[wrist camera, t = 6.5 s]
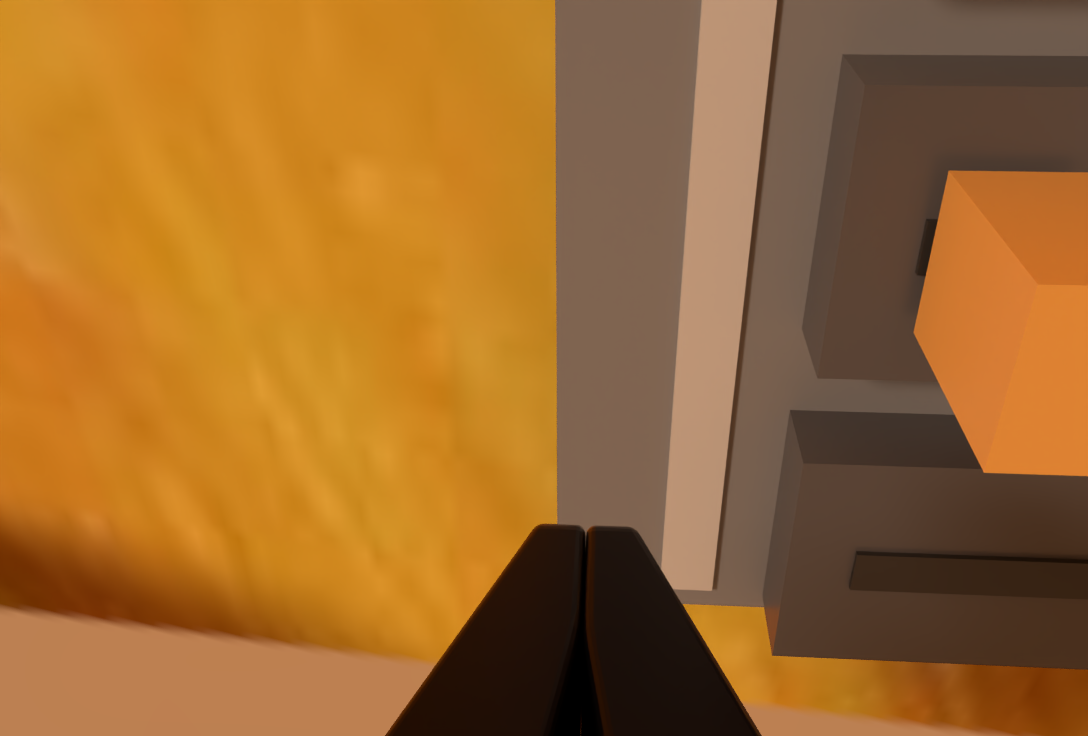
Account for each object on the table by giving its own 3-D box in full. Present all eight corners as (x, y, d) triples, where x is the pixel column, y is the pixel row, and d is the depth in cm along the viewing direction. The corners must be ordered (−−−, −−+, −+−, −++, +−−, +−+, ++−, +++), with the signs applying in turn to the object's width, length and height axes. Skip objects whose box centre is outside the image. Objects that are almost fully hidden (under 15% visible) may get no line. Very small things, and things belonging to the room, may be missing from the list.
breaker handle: (1044, 335, 14) (1148, 477, 11) (913, 332, 14) (983, 472, 11) (1093, 172, 13) (1223, 287, 10) (948, 170, 13) (1037, 284, 10)
